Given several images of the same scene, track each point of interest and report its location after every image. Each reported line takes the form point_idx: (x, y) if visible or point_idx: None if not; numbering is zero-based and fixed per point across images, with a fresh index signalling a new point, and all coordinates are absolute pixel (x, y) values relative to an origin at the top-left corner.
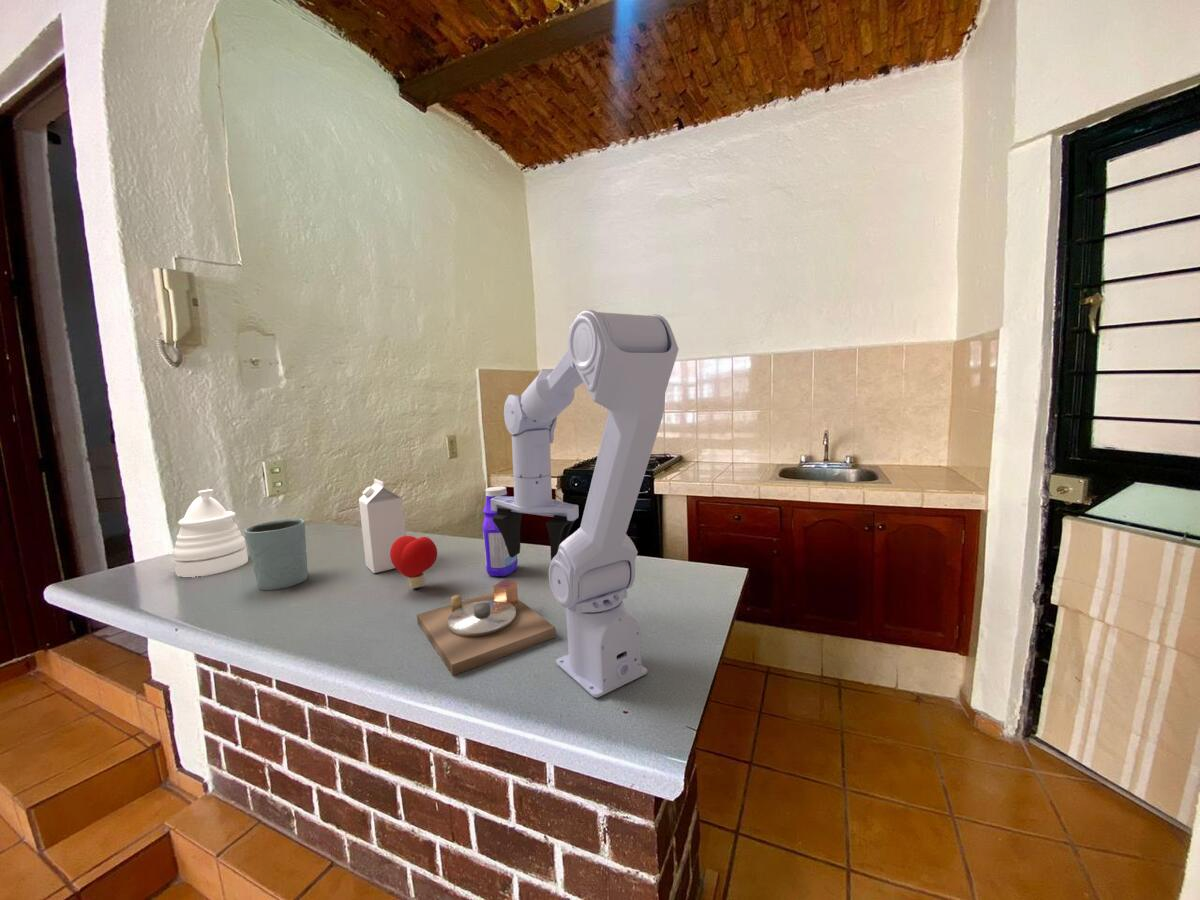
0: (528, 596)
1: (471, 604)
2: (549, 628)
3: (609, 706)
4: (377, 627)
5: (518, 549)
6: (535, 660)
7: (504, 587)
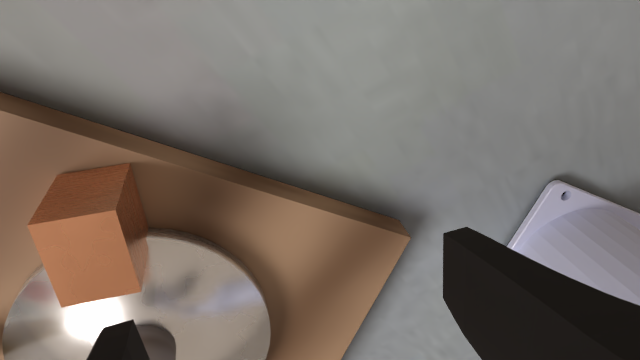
0: (47, 8)
1: (19, 328)
2: (399, 252)
3: None
4: None
5: (137, 356)
6: (410, 319)
7: (128, 289)
